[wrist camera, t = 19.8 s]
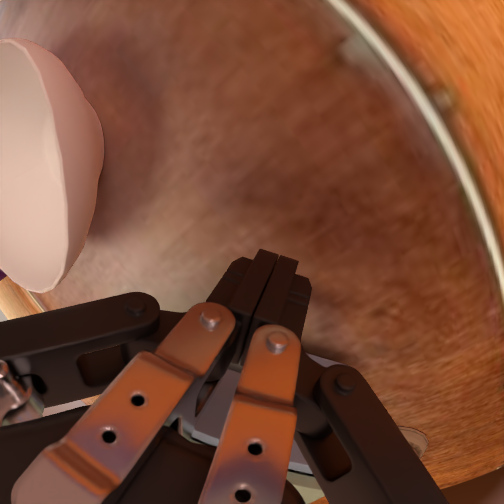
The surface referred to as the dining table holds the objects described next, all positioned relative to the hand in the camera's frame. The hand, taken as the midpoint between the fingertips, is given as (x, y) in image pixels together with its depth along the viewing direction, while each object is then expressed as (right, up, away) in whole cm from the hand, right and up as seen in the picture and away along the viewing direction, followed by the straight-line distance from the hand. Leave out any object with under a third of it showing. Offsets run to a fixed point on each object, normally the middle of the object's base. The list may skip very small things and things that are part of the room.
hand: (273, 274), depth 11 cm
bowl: (-14, +9, +6) cm, 17 cm away
